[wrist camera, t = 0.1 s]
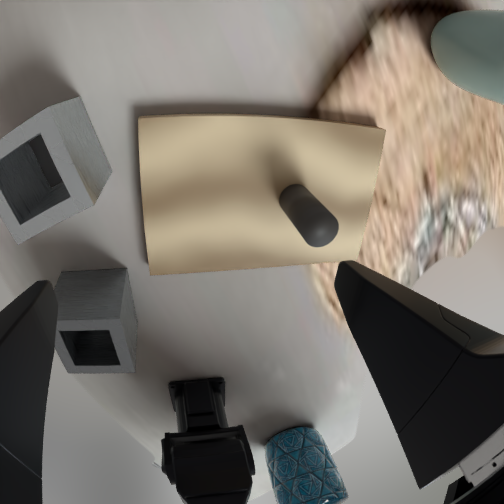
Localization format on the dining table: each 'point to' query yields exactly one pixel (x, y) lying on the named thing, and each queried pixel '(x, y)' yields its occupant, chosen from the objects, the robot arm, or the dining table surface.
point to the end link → (96, 322)
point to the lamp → (303, 469)
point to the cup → (472, 51)
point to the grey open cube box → (66, 161)
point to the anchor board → (254, 190)
